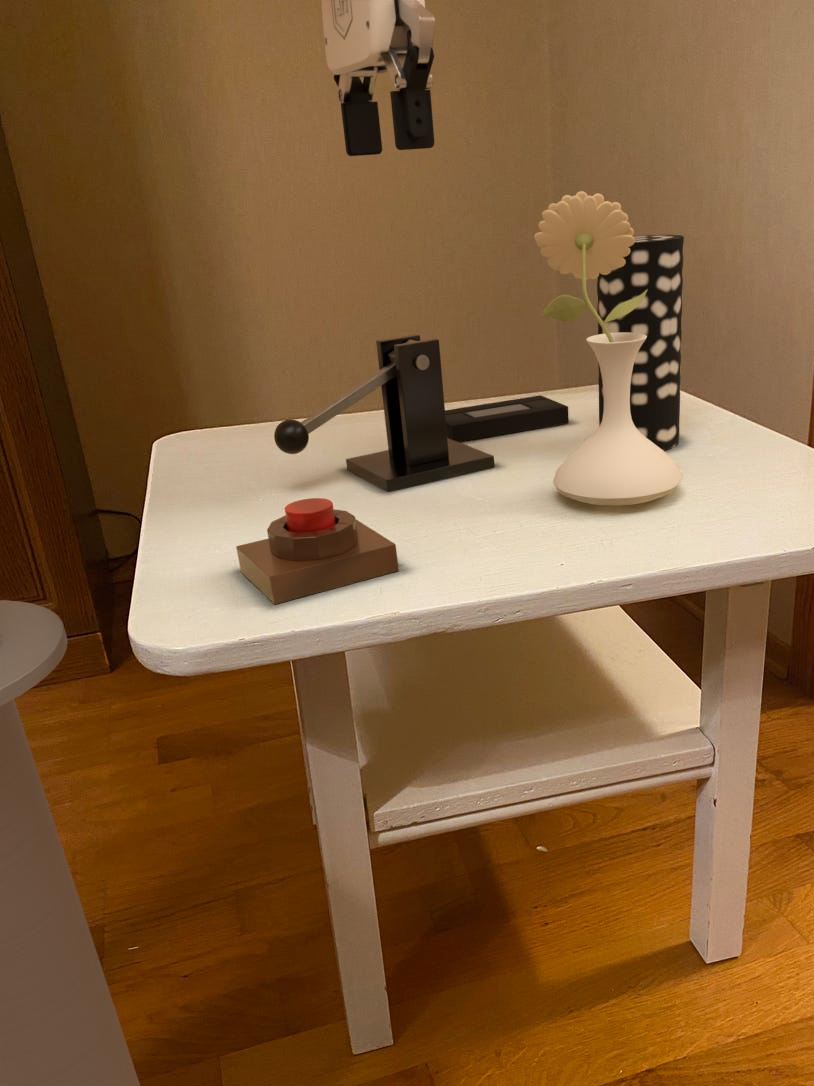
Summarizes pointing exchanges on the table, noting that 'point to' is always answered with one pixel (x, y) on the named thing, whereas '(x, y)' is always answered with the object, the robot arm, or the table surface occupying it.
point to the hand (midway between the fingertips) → (388, 152)
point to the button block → (315, 558)
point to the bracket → (415, 423)
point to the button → (310, 515)
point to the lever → (329, 411)
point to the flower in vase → (603, 358)
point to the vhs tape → (504, 417)
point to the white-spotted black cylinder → (650, 332)
